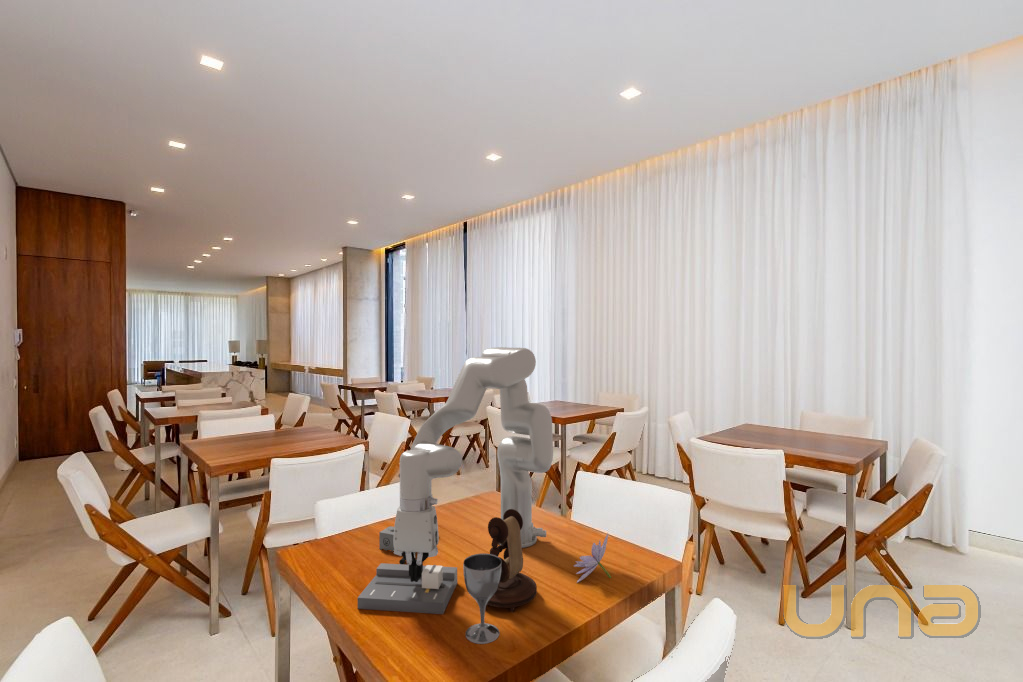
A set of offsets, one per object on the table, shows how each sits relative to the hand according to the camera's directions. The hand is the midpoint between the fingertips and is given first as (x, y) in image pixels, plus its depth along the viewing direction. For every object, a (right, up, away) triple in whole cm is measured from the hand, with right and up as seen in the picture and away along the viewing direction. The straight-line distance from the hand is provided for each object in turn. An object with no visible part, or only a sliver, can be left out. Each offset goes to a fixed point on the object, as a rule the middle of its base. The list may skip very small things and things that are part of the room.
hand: (415, 579), depth 117 cm
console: (-2, -4, 0) cm, 4 cm away
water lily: (+44, -4, +11) cm, 46 cm away
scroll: (+22, -4, -1) cm, 22 cm away
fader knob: (+4, -1, -1) cm, 4 cm away
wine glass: (+17, -4, -15) cm, 23 cm away
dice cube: (-13, -4, +28) cm, 31 cm away
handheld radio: (-5, -4, +28) cm, 29 cm away
